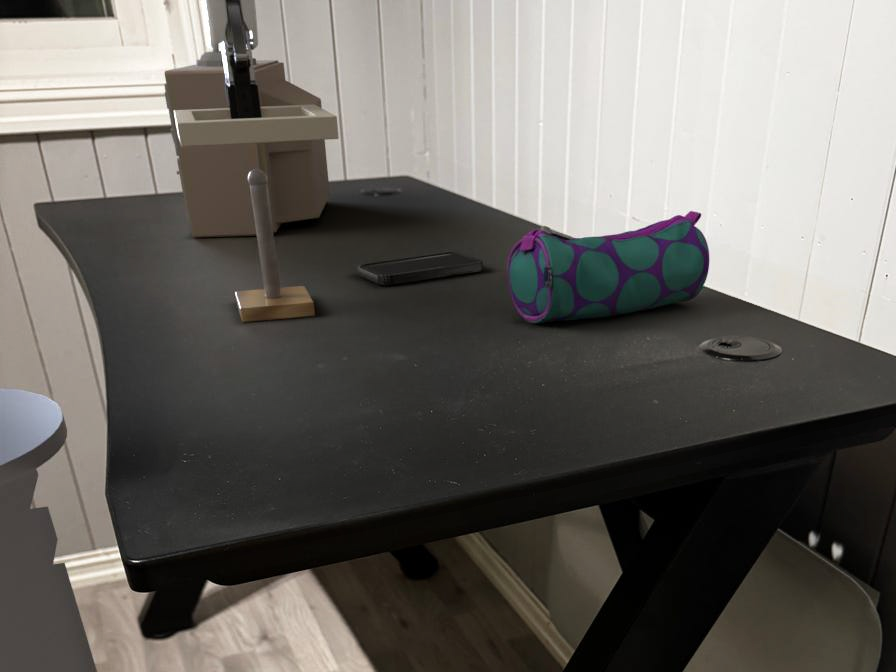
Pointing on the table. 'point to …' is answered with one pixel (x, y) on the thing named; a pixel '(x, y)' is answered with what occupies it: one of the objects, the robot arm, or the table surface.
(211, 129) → the white square frame
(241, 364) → the table surface
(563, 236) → the pencil case
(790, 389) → the table surface
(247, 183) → the television
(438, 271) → the phone
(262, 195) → the wooden base with peg
